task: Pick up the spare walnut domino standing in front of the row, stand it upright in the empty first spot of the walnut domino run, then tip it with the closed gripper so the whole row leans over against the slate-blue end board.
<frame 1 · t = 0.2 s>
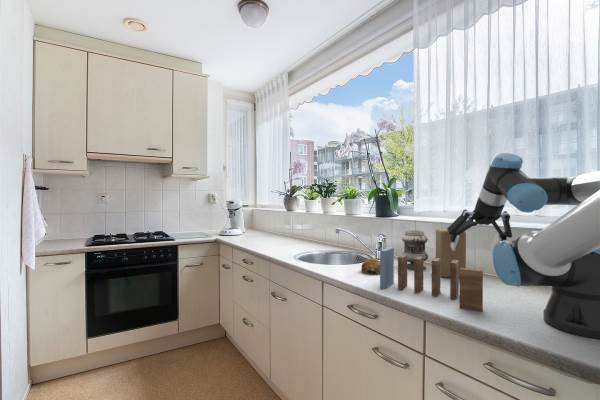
hand: (472, 249, 108), 15 cm above the worktop, tool tilted 35°, fingers open, 13 cm apart
domino 4: (418, 290, 110), on the worktop
brown furry rounded lump: (372, 272, 137), on the worktop
loose domino: (470, 309, 92), on the worktop
grey tall rounded piece: (414, 268, 147), on the worktop
wooden block: (450, 275, 132), on the worktop
end board: (387, 285, 116), on the worktop
domino 2: (454, 296, 103), on the worktop
domino 3: (436, 293, 106), on the worktop
domino 5: (402, 288, 113), on the worktop
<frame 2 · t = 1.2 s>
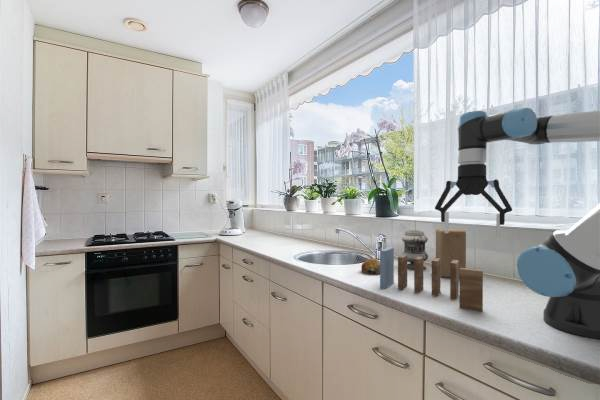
hand: (471, 234, 92), 23 cm above the worktop, tool pointing down, fingers open, 13 cm apart
nothing on the worktop moved.
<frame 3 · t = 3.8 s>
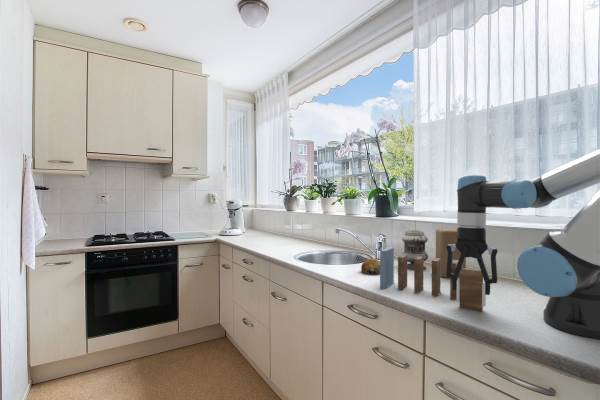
hand: (470, 302, 92), 2 cm above the worktop, tool pointing down, fingers closed on loose domino, 6 cm apart
loose domino: (470, 309, 92), on the worktop, touching gripper
everything else where it was.
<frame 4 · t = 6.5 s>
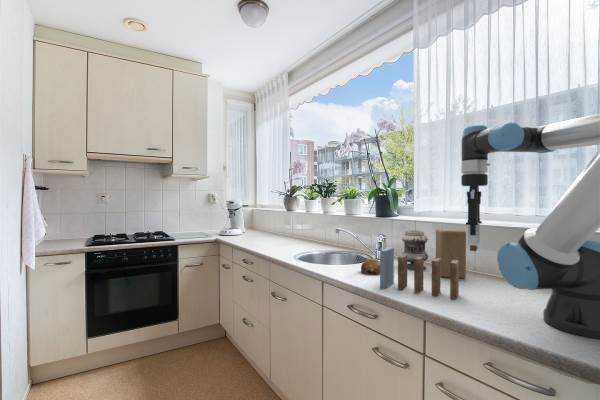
hand: (473, 243, 100), 19 cm above the worktop, tool pointing down, fingers closed on loose domino, 6 cm apart
loose domino: (473, 249, 100), point 17 cm above the worktop, touching gripper
everything else where it was.
when the fingers open (3 cm above the worktop, at t = 9.3 s): loose domino stays where it is, on the worktop.
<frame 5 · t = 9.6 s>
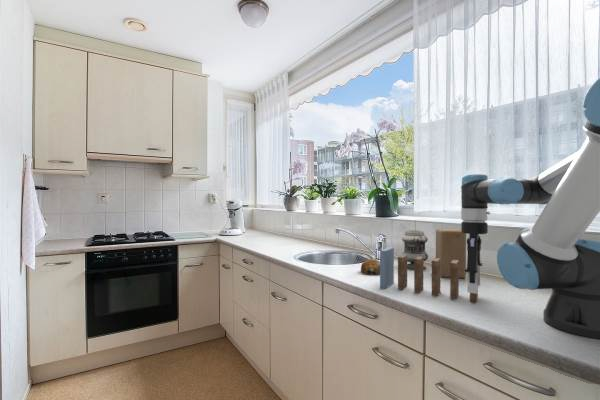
hand: (473, 288, 100), 4 cm above the worktop, tool pointing down, fingers open, 10 cm apart
loose domino: (473, 299, 100), on the worktop
everything else where it was.
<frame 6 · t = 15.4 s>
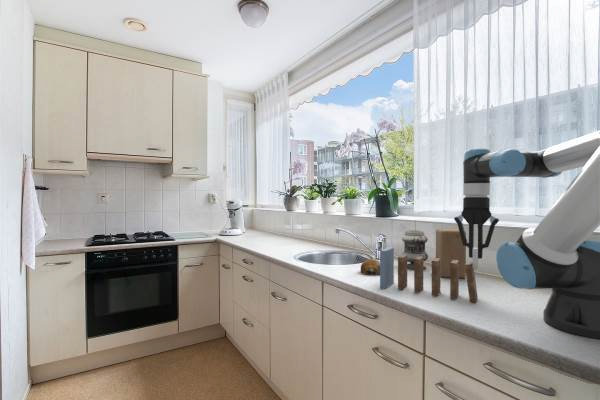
hand: (475, 267, 100), 11 cm above the worktop, tool pointing down, fingers closed
loose domino: (473, 299, 100), on the worktop, tilted 7°
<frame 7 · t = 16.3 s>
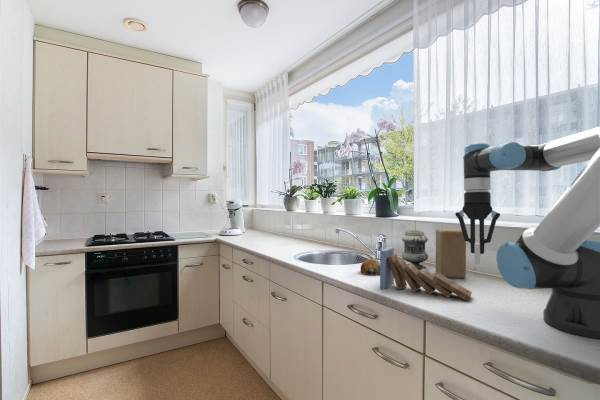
hand: (477, 263, 99), 12 cm above the worktop, tool pointing down, fingers closed
domino 4: (417, 289, 110), point 1 cm above the worktop, tilted 37°, touching domino 3, domino 5
loose domino: (469, 296, 101), point 1 cm above the worktop, tilted 64°, touching domino 2
domino 2: (451, 293, 104), point 1 cm above the worktop, tilted 58°, touching domino 3, loose domino
domino 3: (433, 291, 107), point 1 cm above the worktop, tilted 49°, touching domino 2, domino 4
domino 5: (402, 287, 113), on the worktop, tilted 20°, touching domino 4, end board
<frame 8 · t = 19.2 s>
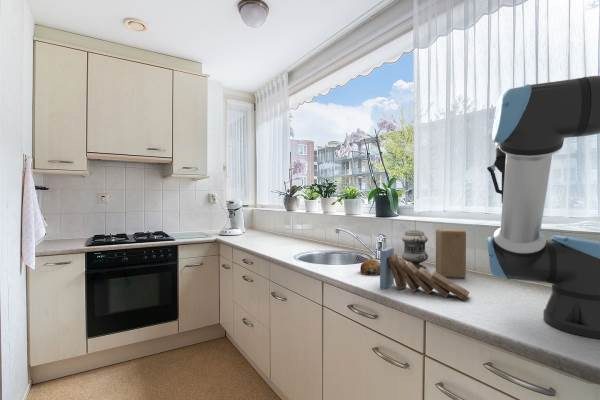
hand: (508, 213, 107), 28 cm above the worktop, tool pointing down, fingers closed
at the end: domino 5 tilted 19°; loose domino tilted 63°; loose domino inside the target area (1.5 cm from its centre), point 0.8 cm above the worktop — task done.
